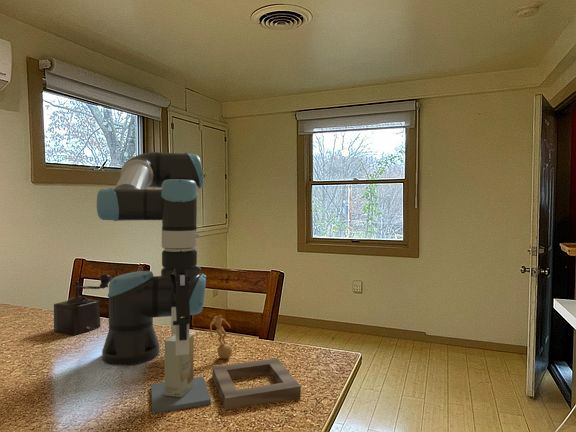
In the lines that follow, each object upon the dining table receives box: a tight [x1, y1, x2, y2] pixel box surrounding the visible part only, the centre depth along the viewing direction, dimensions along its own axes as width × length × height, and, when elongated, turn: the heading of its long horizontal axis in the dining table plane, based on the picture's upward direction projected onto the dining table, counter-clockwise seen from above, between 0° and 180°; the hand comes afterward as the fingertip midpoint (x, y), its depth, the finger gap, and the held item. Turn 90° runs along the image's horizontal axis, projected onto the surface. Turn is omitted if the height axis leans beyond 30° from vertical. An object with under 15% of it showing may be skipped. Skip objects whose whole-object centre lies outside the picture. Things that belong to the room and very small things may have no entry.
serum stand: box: [211, 357, 302, 411], centre depth 94 cm, size 17×17×2 cm
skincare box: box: [164, 333, 195, 397], centre depth 90 cm, size 6×4×12 cm
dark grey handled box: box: [53, 273, 113, 337], centre depth 137 cm, size 16×11×18 cm
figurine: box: [209, 314, 233, 360], centre depth 112 cm, size 8×6×12 cm
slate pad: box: [150, 376, 212, 415], centre depth 90 cm, size 12×12×1 cm
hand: (179, 343), depth 89 cm, fingers open, 13 cm apart
